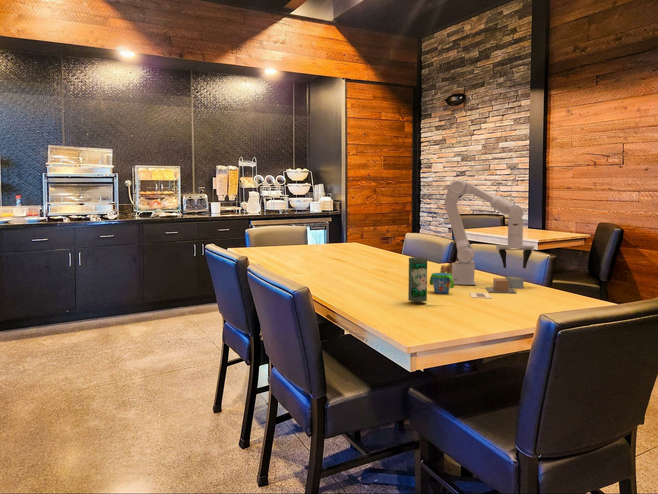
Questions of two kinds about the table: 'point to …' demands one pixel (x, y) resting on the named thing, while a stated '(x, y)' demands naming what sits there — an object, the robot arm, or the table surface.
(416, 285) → the can
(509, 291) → the baseplate
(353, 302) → the table surface
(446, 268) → the lion figurine
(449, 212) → the robot arm
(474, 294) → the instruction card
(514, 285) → the grey brick
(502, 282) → the brown brick
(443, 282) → the snack cup
